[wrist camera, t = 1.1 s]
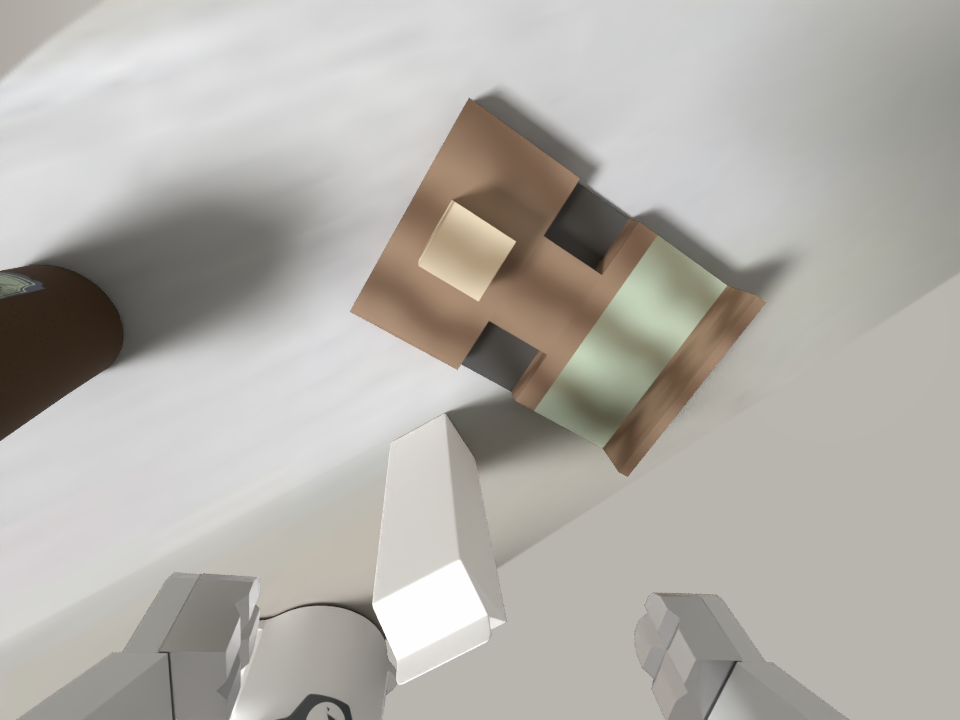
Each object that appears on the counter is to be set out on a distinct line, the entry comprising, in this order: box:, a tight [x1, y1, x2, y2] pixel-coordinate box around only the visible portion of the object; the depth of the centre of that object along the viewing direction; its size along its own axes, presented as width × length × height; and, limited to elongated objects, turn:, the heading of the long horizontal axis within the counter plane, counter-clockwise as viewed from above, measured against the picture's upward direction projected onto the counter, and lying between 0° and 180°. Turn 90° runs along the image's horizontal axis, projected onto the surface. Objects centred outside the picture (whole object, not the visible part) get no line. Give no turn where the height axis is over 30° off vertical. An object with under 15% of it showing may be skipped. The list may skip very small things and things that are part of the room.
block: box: [418, 200, 516, 302], centre depth 36 cm, size 5×5×4 cm
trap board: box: [350, 98, 766, 477], centre depth 39 cm, size 18×27×6 cm, turn 58°
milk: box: [372, 413, 506, 685], centre depth 36 cm, size 6×6×22 cm
